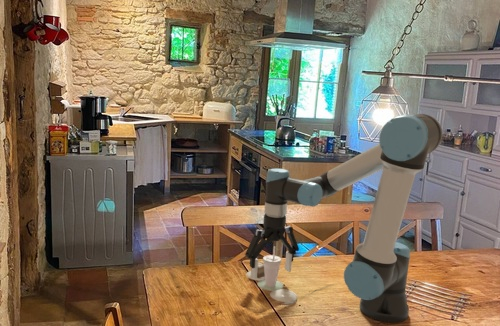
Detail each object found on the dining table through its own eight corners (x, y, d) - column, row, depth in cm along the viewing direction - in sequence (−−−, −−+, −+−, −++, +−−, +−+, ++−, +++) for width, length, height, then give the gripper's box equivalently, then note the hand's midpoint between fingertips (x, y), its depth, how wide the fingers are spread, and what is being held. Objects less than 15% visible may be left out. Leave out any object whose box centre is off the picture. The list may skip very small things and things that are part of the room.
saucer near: (302, 302, 152) (302, 298, 151) (278, 307, 147) (279, 303, 147) (287, 290, 159) (287, 287, 159) (264, 295, 155) (265, 291, 155)
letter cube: (266, 275, 168) (267, 264, 167) (258, 278, 165) (259, 267, 164) (258, 271, 171) (259, 261, 170) (250, 274, 168) (251, 263, 167)
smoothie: (280, 289, 157) (282, 250, 155) (261, 288, 157) (263, 249, 155) (279, 281, 164) (281, 243, 161) (261, 280, 164) (263, 242, 161)
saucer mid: (288, 291, 159) (288, 287, 159) (265, 295, 155) (265, 292, 155) (274, 280, 167) (274, 277, 167) (252, 284, 163) (253, 281, 162)
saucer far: (275, 281, 166) (275, 278, 166) (253, 285, 162) (253, 282, 162) (263, 271, 174) (263, 268, 174) (241, 275, 170) (242, 272, 170)
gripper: (299, 208, 165) (295, 264, 169) (237, 214, 153) (234, 274, 157) (311, 214, 159) (307, 272, 162) (247, 221, 147) (244, 283, 151)
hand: (271, 273), depth 160 cm, fingers open, 13 cm apart
